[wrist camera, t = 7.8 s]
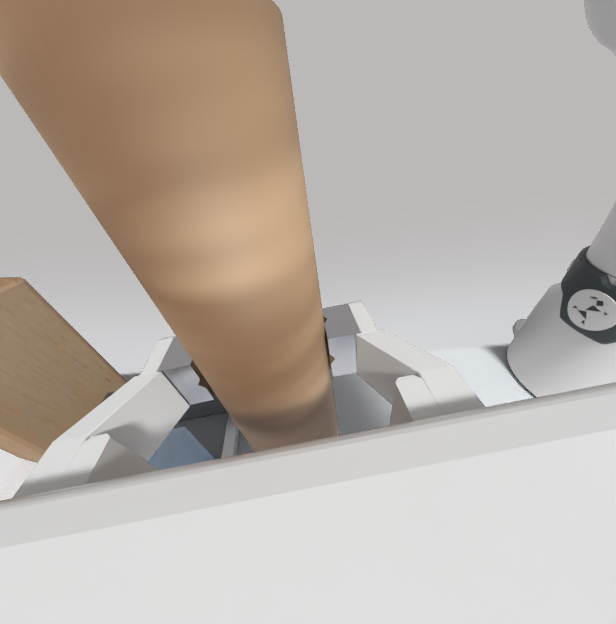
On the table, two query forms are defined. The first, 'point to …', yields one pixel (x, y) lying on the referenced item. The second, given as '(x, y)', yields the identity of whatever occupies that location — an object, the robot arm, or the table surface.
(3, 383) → the wooden block
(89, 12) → the dowel
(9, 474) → the table surface
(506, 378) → the table surface
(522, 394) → the table surface
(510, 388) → the table surface
